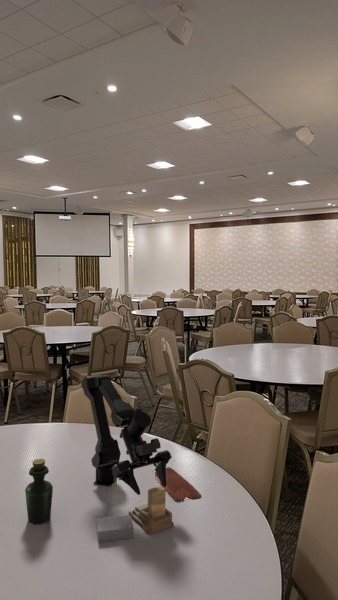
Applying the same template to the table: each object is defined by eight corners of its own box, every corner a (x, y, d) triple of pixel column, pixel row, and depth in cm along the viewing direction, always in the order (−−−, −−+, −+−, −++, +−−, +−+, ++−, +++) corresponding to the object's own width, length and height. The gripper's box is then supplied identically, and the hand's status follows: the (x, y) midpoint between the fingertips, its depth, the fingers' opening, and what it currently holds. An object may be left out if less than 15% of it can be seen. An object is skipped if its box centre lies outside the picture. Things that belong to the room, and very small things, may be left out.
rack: (128, 514, 140) (128, 502, 140) (151, 507, 145) (151, 495, 145) (150, 534, 130) (150, 520, 130) (173, 525, 134) (173, 512, 134)
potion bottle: (54, 511, 142) (53, 455, 141) (51, 525, 134) (51, 466, 133) (27, 513, 141) (26, 456, 140) (23, 527, 133) (22, 467, 132)
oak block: (147, 515, 134) (147, 489, 134) (160, 511, 137) (160, 485, 136) (152, 519, 132) (152, 493, 132) (165, 515, 135) (165, 489, 134)
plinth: (96, 528, 133) (96, 518, 133) (130, 524, 135) (130, 514, 135) (97, 542, 126) (97, 531, 126) (133, 537, 128) (133, 527, 128)
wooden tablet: (203, 499, 152) (203, 494, 152) (176, 504, 148) (176, 499, 148) (172, 468, 176) (172, 463, 176) (148, 472, 173) (148, 467, 173)
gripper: (116, 436, 134) (135, 486, 126) (168, 425, 145) (188, 471, 136) (105, 454, 141) (121, 503, 133) (155, 442, 152) (174, 486, 143)
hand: (152, 490), depth 136 cm, fingers open, 9 cm apart
